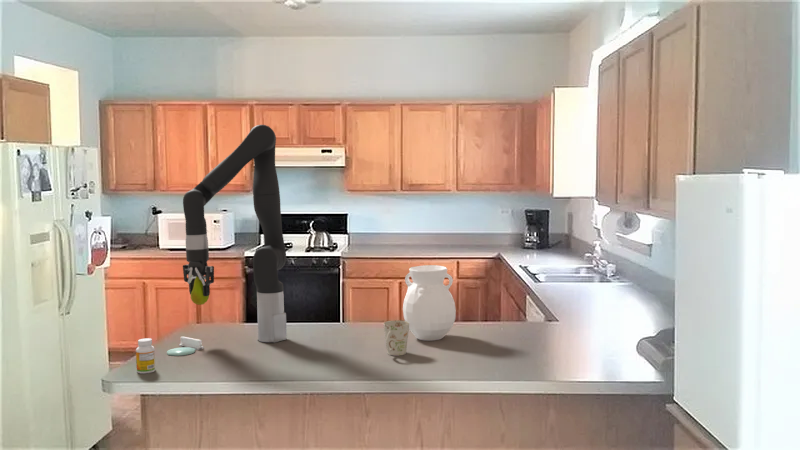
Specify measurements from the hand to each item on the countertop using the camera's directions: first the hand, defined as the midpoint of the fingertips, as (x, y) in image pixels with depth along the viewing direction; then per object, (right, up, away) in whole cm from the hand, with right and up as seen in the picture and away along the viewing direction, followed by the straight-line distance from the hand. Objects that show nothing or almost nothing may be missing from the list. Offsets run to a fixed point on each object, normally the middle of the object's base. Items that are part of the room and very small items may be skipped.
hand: (199, 294), depth 262 cm
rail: (-1, -17, -5) cm, 18 cm away
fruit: (0, -4, 0) cm, 3 cm away
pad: (-3, -18, -12) cm, 22 cm away
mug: (+68, -18, -19) cm, 73 cm away
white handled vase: (+80, -16, +4) cm, 82 cm away
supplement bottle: (-7, -20, -35) cm, 41 cm away
